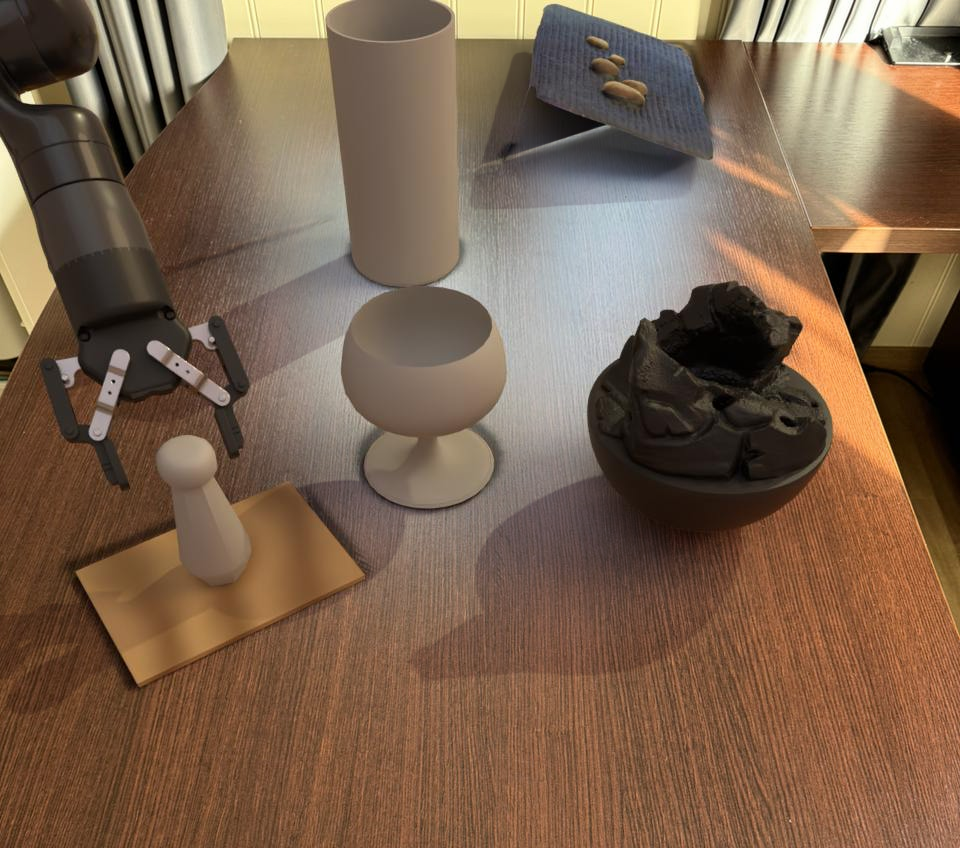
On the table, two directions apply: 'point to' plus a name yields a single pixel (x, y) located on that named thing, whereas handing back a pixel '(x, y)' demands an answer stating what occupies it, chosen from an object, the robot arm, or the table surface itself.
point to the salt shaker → (202, 512)
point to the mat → (619, 79)
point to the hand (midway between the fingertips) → (181, 473)
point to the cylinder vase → (397, 136)
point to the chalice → (425, 391)
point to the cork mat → (219, 609)
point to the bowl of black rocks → (709, 414)
